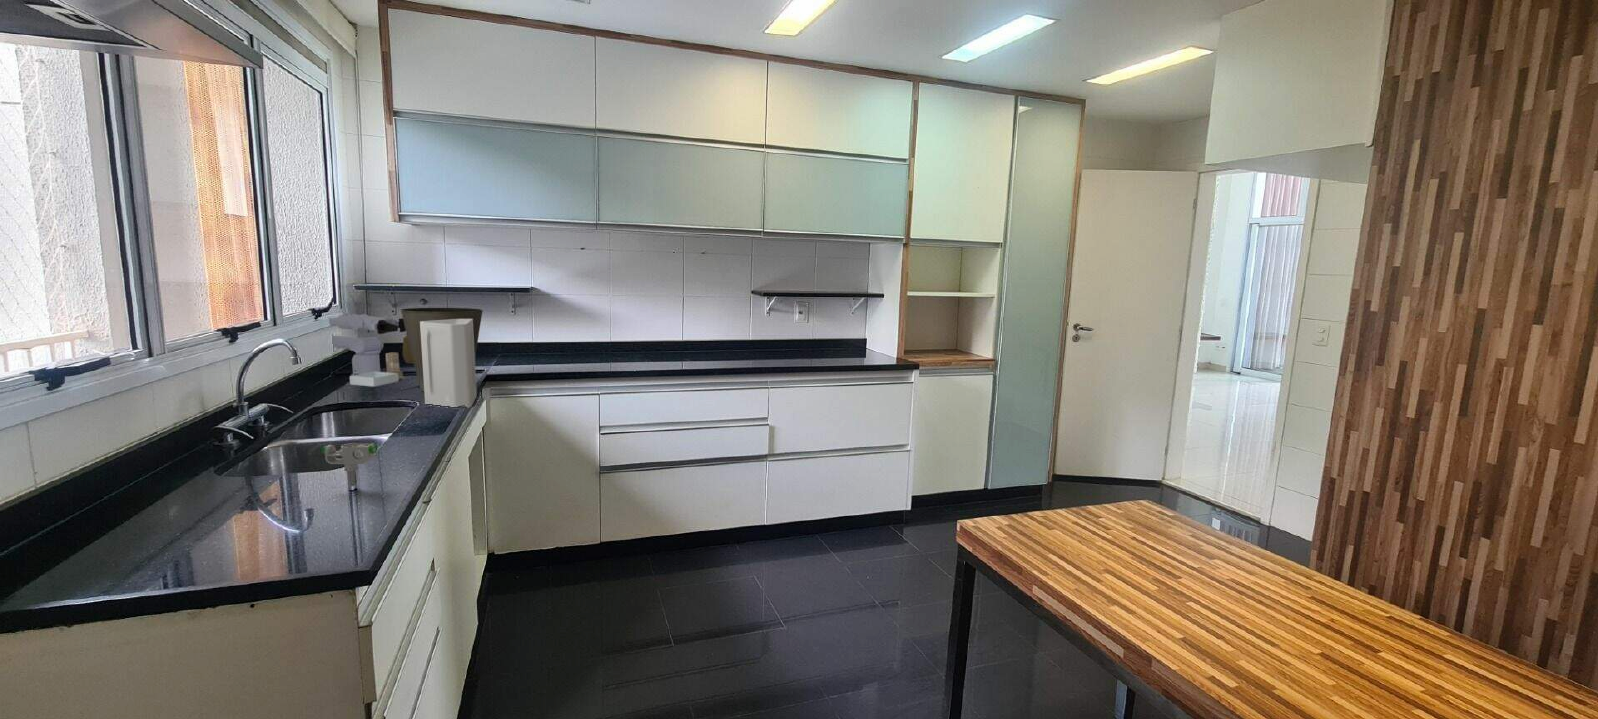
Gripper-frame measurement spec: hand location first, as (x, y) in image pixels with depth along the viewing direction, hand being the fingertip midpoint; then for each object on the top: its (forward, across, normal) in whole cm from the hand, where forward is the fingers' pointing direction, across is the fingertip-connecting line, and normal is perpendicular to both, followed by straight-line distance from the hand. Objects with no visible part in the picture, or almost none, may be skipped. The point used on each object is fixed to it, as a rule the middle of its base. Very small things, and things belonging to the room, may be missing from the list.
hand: (405, 327), depth 260 cm
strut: (-2, -4, +20) cm, 20 cm away
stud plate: (-1, -4, +21) cm, 21 cm away
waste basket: (+30, -10, +19) cm, 37 cm away
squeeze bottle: (-27, +30, +22) cm, 46 cm away
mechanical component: (+93, -102, +18) cm, 139 cm away
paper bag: (+48, -28, +19) cm, 59 cm away
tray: (+1, -14, +21) cm, 25 cm away
